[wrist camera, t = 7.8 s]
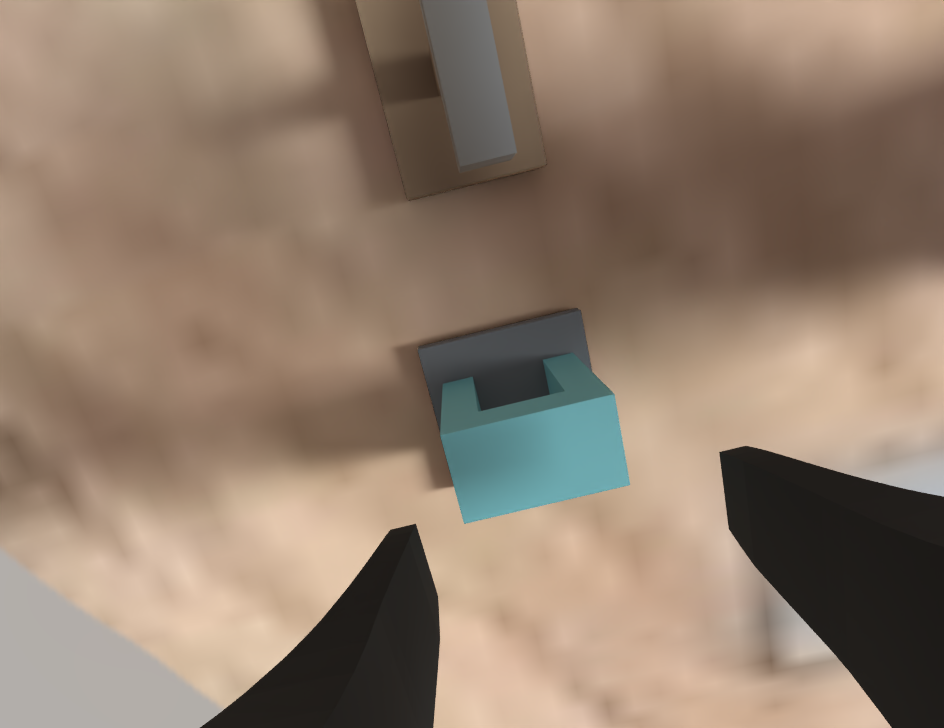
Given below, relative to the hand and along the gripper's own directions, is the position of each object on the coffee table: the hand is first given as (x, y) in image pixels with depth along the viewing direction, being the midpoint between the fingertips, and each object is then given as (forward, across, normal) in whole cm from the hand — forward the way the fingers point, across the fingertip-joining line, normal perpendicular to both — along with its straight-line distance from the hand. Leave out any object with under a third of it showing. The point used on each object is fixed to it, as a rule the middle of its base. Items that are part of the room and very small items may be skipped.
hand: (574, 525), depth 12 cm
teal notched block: (+9, 0, 0) cm, 9 cm away
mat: (+9, 0, 0) cm, 9 cm away
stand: (+9, 0, -12) cm, 15 cm away
